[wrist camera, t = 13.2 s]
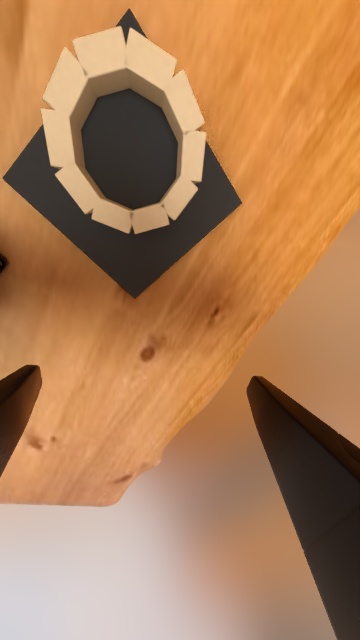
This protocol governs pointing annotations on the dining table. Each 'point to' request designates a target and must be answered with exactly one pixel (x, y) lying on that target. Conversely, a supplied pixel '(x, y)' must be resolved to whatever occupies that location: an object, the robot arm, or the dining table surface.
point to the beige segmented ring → (109, 77)
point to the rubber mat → (126, 186)
